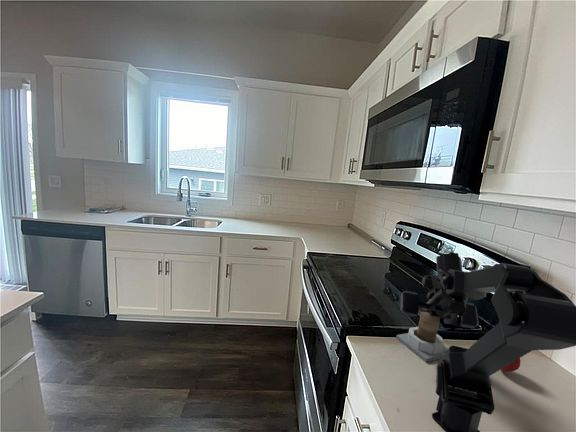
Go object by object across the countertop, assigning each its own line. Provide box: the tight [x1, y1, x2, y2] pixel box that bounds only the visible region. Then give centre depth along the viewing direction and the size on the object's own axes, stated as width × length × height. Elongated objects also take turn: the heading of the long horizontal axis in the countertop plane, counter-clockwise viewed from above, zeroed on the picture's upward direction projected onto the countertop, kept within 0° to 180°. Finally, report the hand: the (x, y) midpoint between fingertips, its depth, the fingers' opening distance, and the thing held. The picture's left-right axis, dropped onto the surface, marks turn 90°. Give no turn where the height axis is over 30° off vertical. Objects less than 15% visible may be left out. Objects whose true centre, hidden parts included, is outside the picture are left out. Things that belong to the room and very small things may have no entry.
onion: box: [500, 358, 521, 373], centre depth 74 cm, size 6×6×8 cm
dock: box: [395, 326, 449, 363], centre depth 82 cm, size 11×11×4 cm
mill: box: [416, 301, 441, 343], centre depth 81 cm, size 5×5×13 cm
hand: (427, 317), depth 82 cm, fingers open, 9 cm apart
